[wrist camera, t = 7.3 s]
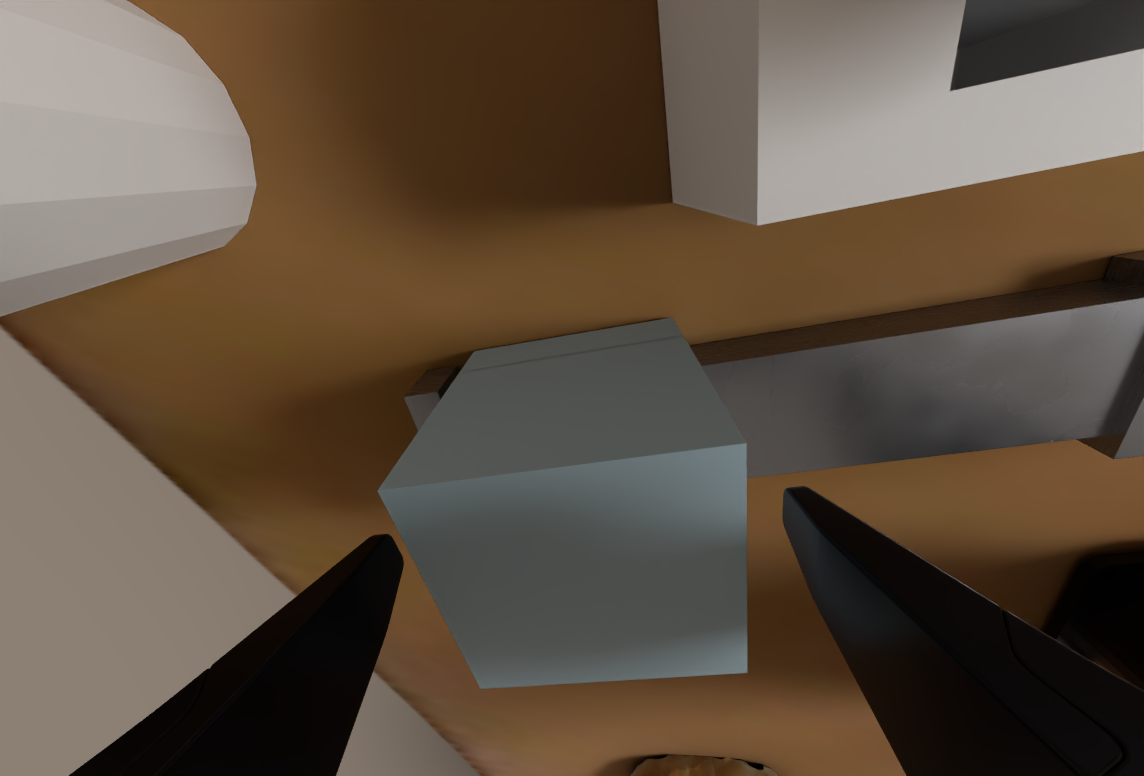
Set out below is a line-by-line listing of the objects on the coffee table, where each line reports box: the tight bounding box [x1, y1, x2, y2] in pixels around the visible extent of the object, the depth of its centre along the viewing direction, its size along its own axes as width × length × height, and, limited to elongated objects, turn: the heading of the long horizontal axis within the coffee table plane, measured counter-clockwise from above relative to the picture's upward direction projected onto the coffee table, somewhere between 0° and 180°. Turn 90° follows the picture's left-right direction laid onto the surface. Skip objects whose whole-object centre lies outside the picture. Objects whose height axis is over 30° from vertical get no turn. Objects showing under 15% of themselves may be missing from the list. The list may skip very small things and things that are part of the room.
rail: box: [404, 251, 1144, 478], centre depth 12 cm, size 5×20×2 cm, turn 101°
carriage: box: [377, 317, 747, 689], centre depth 11 cm, size 6×6×6 cm
